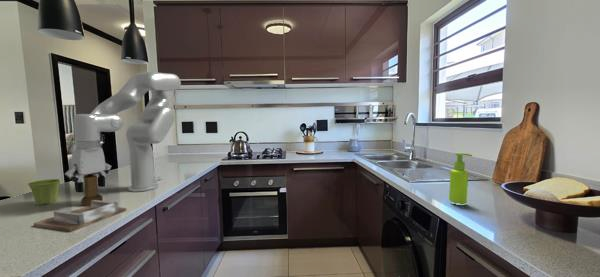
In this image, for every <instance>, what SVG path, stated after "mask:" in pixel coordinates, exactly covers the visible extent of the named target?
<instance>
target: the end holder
mask: <svg viewBox="0 0 600 277" xmlns="http://www.w3.org/2000/svg"><path fill="white" fill-rule="evenodd" d="M126 211H127V208H126V207H121V206H119V203H118V201H117V202H116V201H106V200H103V201H99V200H93V201H91V205H90V206H83V207H82V208H80V207H79V208H78V209H73V210H71V211H64V210H56V211H53V216H52V217H49V218H46V219H42V220H40V221H39V220H38V221H35V222H33V227H38V228H42V229H49V230H57V231H63V232H69V233H70V232H71V233H72V232H74V231H77V230H79V229H82V228H84V227H87V226H89V225H93V224H96V223H98V222H100V221H103V220H105V219H108V218H111V217H113V216H117V215H119V214H122V213H124V212H126Z"/></svg>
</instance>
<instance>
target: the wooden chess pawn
mask: <svg viewBox="0 0 600 277" xmlns="http://www.w3.org/2000/svg"><path fill="white" fill-rule="evenodd" d="M97 178H98V174H96V175H95V174H94V173H93V174H88V175H84V177H83V179H84V181H83V183H84V197H82V198H81V200H80V206H82V207H87V206H90V205H91V201H93V200H99V201H104V200H103V196H102V195H101V194H99V193H98V191H99V190H98V179H97Z"/></svg>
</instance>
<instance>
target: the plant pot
mask: <svg viewBox="0 0 600 277" xmlns="http://www.w3.org/2000/svg"><path fill="white" fill-rule="evenodd" d="M61 181H62V179H59V178H51V179H42V180H37V181H31V182H29V183H27V186H29V188H30V189H31V193H32V196H33V200H34V202H35V203H34V204H35V205H36V206H43V205H45V204H46V205H47V204H48V205H49V204H54V203H56V202H57V201H58V194H59V186H60V182H61Z"/></svg>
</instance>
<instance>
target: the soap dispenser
mask: <svg viewBox="0 0 600 277" xmlns="http://www.w3.org/2000/svg"><path fill="white" fill-rule="evenodd" d="M455 156H456V157H457V158H456V161H454V165H453V166H454V168H453V169H450V172H449V177H450V178H449V196H448V198H449V199H448V201H449V200H450V201H451V202H454V203H460V204H465V203H467V204H468V185H469V184H468V183H469V182H468V181H469V171H468V170H465V164H466V163H465V161H463V156H468V157H473V155H472V154H469V153H463V152H460V153H459V152H458V153H456V152H455Z"/></svg>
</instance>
